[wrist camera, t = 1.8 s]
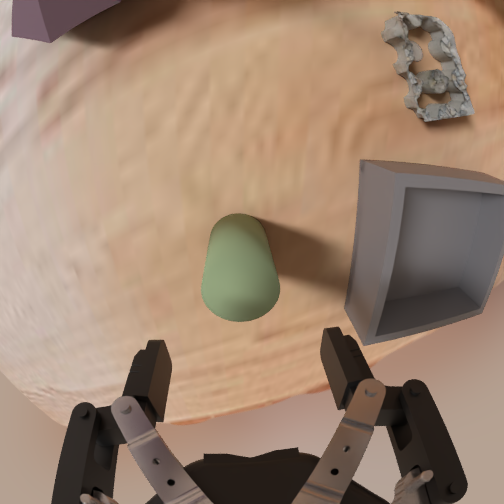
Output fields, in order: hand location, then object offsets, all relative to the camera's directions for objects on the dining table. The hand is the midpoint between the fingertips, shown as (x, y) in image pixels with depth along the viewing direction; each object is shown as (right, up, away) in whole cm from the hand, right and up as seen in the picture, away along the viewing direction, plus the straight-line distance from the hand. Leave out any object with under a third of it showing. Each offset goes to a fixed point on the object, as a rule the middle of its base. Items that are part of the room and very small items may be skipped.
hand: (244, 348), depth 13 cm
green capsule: (-1, +6, +11) cm, 13 cm away
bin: (+19, +6, +12) cm, 24 cm away
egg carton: (+16, +23, +5) cm, 28 cm away
